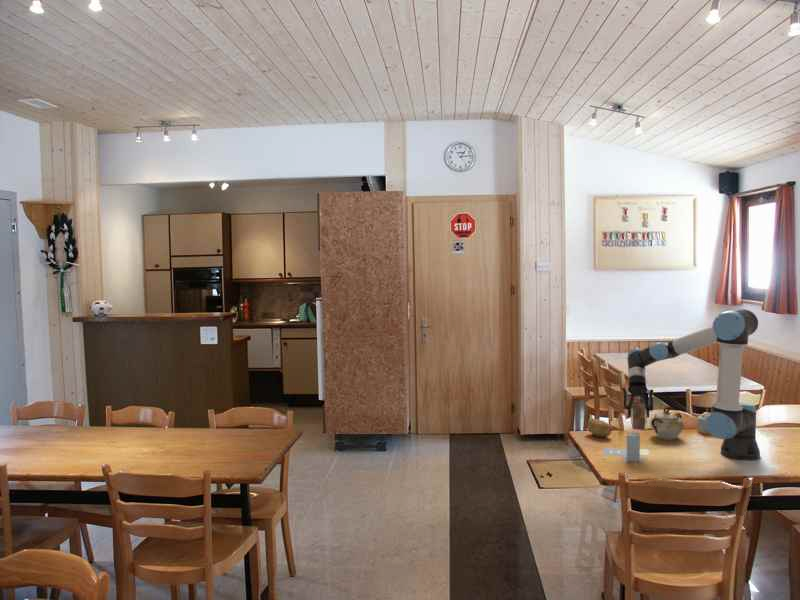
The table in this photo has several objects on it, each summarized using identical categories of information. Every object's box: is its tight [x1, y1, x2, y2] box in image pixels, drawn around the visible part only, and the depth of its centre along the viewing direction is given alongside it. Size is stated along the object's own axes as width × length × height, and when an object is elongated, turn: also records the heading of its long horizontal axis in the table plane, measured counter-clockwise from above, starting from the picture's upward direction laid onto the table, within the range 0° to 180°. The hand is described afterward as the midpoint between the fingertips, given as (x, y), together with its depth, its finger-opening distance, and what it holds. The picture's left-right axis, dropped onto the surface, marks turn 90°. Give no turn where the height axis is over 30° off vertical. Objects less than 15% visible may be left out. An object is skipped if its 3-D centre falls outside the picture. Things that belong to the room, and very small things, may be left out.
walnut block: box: [631, 401, 646, 431], centre depth 277 cm, size 5×5×11 cm
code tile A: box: [602, 447, 627, 457], centre depth 278 cm, size 10×10×1 cm
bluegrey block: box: [626, 432, 641, 462], centre depth 266 cm, size 5×5×11 cm
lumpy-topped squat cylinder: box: [697, 411, 712, 435], centre depth 308 cm, size 10×13×9 cm
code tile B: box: [622, 456, 644, 464], centre depth 267 cm, size 8×8×1 cm
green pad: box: [640, 448, 650, 456], centre depth 277 cm, size 8×8×1 cm
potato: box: [587, 418, 613, 438], centre depth 303 cm, size 10×14×8 cm
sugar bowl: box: [649, 406, 685, 441], centre depth 299 cm, size 20×15×15 cm
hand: (639, 422), depth 273 cm, fingers closed on walnut block, 5 cm apart
